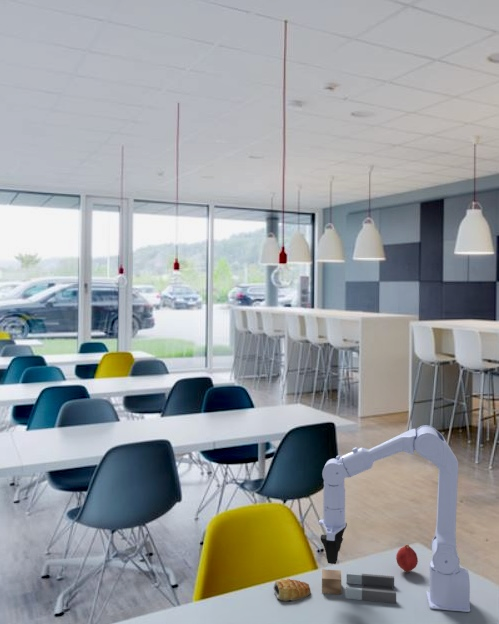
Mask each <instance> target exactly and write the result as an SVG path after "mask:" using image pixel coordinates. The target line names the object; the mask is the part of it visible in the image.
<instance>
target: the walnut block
mask: <svg viewBox="0 0 499 624" xmlns="http://www.w3.org/2000/svg"><path fill="white" fill-rule="evenodd" d="M321 593H322V594H332V595H333V594H334V595H342V570H341V569H340V570H336V569H321Z"/></svg>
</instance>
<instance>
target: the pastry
mask: <svg viewBox="0 0 499 624" xmlns="http://www.w3.org/2000/svg"><path fill="white" fill-rule="evenodd" d="M273 591H274V595H276V598H277V599H279V600H280V601H283V602H288V601H296V600H301V599H304V598H307V596H309V595H311V587H310V585H309V583H307V582H305V581H300V580H296V579H290V578H286V579H283V578H282V579H280V580H276V581H275V583H274V584H273Z"/></svg>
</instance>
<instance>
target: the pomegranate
mask: <svg viewBox="0 0 499 624" xmlns="http://www.w3.org/2000/svg"><path fill="white" fill-rule="evenodd" d="M395 559H396V563H397V565H398V566H399V568H400V569H402V570H403V571H404V572H405V573H410V572H411V571H413V570H414V569H415V568H416V567H417V566H418V562H419V561H418V560H419V559H418V556H417V553H416V551H415V550H414V549H413V547H411V546H410V545H409V544H408V543H406V544H405V545H404V546H402V547H401V548H399V549H398V551H397V553H396V558H395Z"/></svg>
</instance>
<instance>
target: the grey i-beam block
mask: <svg viewBox="0 0 499 624" xmlns="http://www.w3.org/2000/svg"><path fill="white" fill-rule="evenodd" d="M346 584H351V585H361V586H363V588H362V587H351V586H350V587H349V586H346V587H345V600H346V599H348V600H358V601H359V600H360V601H369V602H379V603H389V604H390V603H393V604H397V591H396V590H395V591H394V589H393V588H395V576H394V575H383V574H382V575H381V574H373V573H372V574H370V573H359V572H358V573H357V572H348V571H347V572H346Z"/></svg>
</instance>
